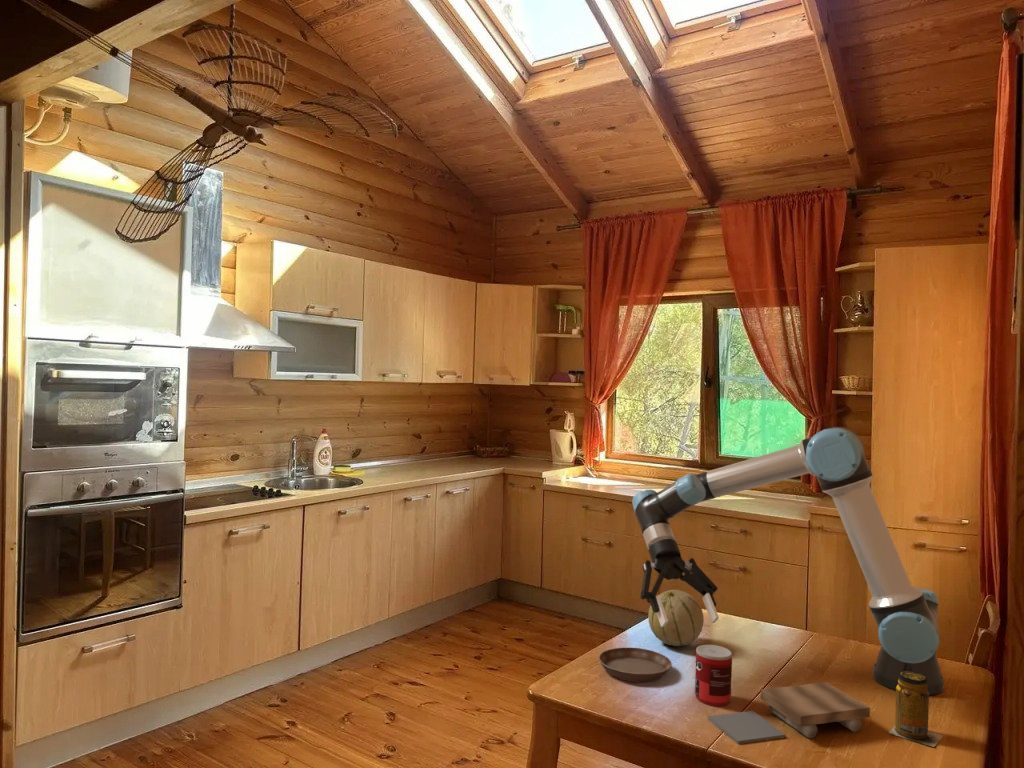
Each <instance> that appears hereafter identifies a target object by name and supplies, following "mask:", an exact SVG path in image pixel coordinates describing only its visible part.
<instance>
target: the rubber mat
mask: <svg viewBox="0 0 1024 768" xmlns="http://www.w3.org/2000/svg"><path fill="white" fill-rule="evenodd" d="M707 720H708V721H710V722H711V723H712V724H713V725H715V726H716V727H717V728H718V729H720V730H721V731H722V732H723V733H724V734H725V735H726V736H728V737H729V738H730V739H731V740H733V742H735V743H736V744H737V745H741V744H747V743H755V741H757V742H762V740H764V741H768V740H767V739H771V740H778V739H785V738H786V734H785V733H784V732H782V731H781V730H780V729H778V728H777V727H775V726H774V725H773V724H771V723H770V722H769V721H768V720H766V719H765V718H763V717H762V716H760V715H759V714H758V713H756V712H755V711H754V710H749V711H741V712H734V713H733V712H731V713H724V714H716V715H715V714H713V715H708V716H707ZM776 738H778V739H776Z"/></svg>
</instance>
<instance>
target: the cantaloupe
mask: <svg viewBox="0 0 1024 768" xmlns="http://www.w3.org/2000/svg"><path fill="white" fill-rule="evenodd" d="M657 596H660V599H661V602H662V605H663V608H664V610H665V613H666V616H667V619H668V622H667V624H666V625H665V626H664V627H661V625H660V622H659V619H658V616H657V613H654V612H653V610H652V607H651V604H650V606H649V609H648V617H647V619H648V624H649V627H650V630H651V631H652V634H653V635H654V636H655V638H656V639H657V640H659V642H660V641H661V642H662V643H664V644H665V645H668V646H673V647H681V646H687V645H689V644H691V643H693V642H694V641H696V640H697V639H698V638H699V636H700V635H701V633H702V631H703V627H704V613H703V610H702V606H701V605H700V603H699V602H698V600H697V599H696V598H695V597H694V596H693V595H692V594H690V593H688V592H686V591H683V590H680V589H671V590H670V589H669V590H667V591H666V590H665V591H663V592H661V593H660V594H658V595H656V597H657Z"/></svg>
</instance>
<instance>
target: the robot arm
mask: <svg viewBox="0 0 1024 768" xmlns="http://www.w3.org/2000/svg"><path fill="white" fill-rule="evenodd" d="M808 474H810V475H812V476H814V477H816V479H817V482H818V483H819V486H820V490H821V491H822V493H825V494H827V495H829V496H830V497H831V499H832V501H833V502H834V503H833V504H834V505H835V508H836V510H837V512H838V515H839V517H840V519H841V522H842V525H843V528H844V530H845V532H846V535H847V538H848V540H849V542H850V544H851V547H852V550H853V552H854V554H855V556H856V560H857V562H858V564H859V566H860V569H861V571H862V574H863V576H864V579H865V581H866V583H867V585H868V588H869V590H870V593H871V599H870V600H869V603H868V606H869V609H870V611H871V615H872V617H873V620H874V622H875V624H876V626H877V634H878V637H877V638H878V640H879V643H880V644H881V647H880V650H879V652H878V654H877V658H876V661H875V663H874V664H873V669H872V677H873V679H874V680H875V681H876V682H877V683H879V684H880V685H882V686H884V687H887V688H889V689H891V690H894V691H896V687H897V685H898V684H899V683H898V680H899V674H900V673H901V672H914V673H918V674H921V675H923V676H924V677H926V678H927V681H928V682H927V687H928V688H927V691H928V692H929V696H934V695H935V696H936V695H939V694H941V693H942V692H944V689H945V681H944V680H945V679H944V677H943V675H942V672H941V668H940V664H939V660H938V657H937V650H938V648H939V645H940V643H941V642H940V634H939V626H938V625H939V622H938V617H939V616H938V613H939V612H938V609H939V608H938V606H939V598H938V597H939V596H938V594H937V593H936V592H935V591H933V590H929V589H926V588H923V587H922V588H921V587H915V586H912V583H911V581H910V579H909V577H908V574H907V571H906V569H905V567H904V565H903V563H902V560H901V558H900V555H899V553H898V550H897V548H896V545H895V543H894V541H893V539H892V538H893V537H891V533H890V532H889V529H888V527H887V525H886V522H885V519H884V517H883V515H882V512H881V510H880V507H879V506H878V503H877V500H876V498H875V496H874V493H873V491H872V489H871V484H870V483H871V482H872V480H873V478H874V475H873V473H872V470H871V468H870V465H869V463H868V461H867V458H866V456H865V445H864V442H863V440H862V439H861V437H860V436H859V435H858V433H856V432H855V431H854V430H852V429H849V428H847V427H844V426H833V427H828V428H826V429H825V428H824V429H822V430H820V431H818V432H816V433H815V434H814V435H813V436H810V437H807V438H804V439H801V441H800V443H799V444H798V445H794V446H790V447H787V448H783V449H780V450H776V451H774V452H770V453H766V454H762V455H760V456H755V457H752V458H749V459H745V460H742V461H739V462H736V463H731V464H728V465H724V466H722V467H717V468H714V469H711V470H708V471H704V472H700V473H695V474H693V473H687V474H686V475H684V476H681V477H679V478H677V480H675V481H673V482H671V484H669V485H667V486H666V487H664V488H663V489H661V490H660V491H656V490H654V489H644V490H643V491H641V490H640V491H639V492H637V493H636V494H635V495H634V496H633V498H632V502H631V503H632V508H633V510H634V516H635V517H636V520H637V523H638V525H639V528H640V530H641V533H642V537H643V538H644V542H645V544H646V545H645V546H646V547H647V549H648V553H649V557H650V559H651V560H646V561H645V562H644V564H643V565H642V570H643V577H642V585H641V589H640V595H639V596H640V599H642V600H646V602H647V603H648V604H650V605H651V607H652V610H653V612H654V613H657V616H658V619H659V622H660V625H661V627H664V626H665V625H666V624H667V622H668V619H667V616H666V613H665V610H664V608H663V605H662V602H661V599H660V596H658V595H657V594H658V592H659V590H660V587H661V585H662V583H663V581H664V579H666V580H667V581H670V580H678V579H679V580H681V581H682V582H685V583H686V584H688V585H689V586H690V587H691V588H692V589H694V590H695V591H696V592H697V593H699V594H701V595H702V596H703V597H702V601H703V605H704V608H705V609H706V612H707V614H708V617H709V619H710V622H711V624H714V623H716V622H717V621H718V620H719V618H720V617H719V614H718V612H717V609H716V606H717V602H716V601H715V600H716V599H715V597H714V595H715V593H716V592H717V591H718V589H719V588H718V587H717V585H716V584H715V583H714V582H713V581H712V580H711V578H709V577H708V575H706V573H705V572H704V571H703V570H702V569H701V568H700V566H698V564H697V563H696V561H695V559H694V558H693V557H692V558H690V559H688V560H684V559H683V558H682V555H681V550H680V548H679V546H678V542H677V541H676V537H675V535H674V533H673V530H672V528H671V524H670V522H669V520H670V519H673V518H674V517H676V516H678V515H679V514H681V513H682V512H684V511H686V510H687V509H690V508H691V507H693V506H695V505H697V504H699V503H704V502H706V501H710V500H714V499H716V498H720V497H724V496H725V497H726V496H728V495H731V494H735V493H739V492H743V491H747V490H750V489H755V488H759V487H763V486H765V485H771V484H774V483H777V482H781V481H784V480H789V479H792V478H797V477H800V476H804V475H808ZM651 561H652V562H651ZM653 570H655V572H657V573H658V575H657V577H656V580H655V581H654V584H653V586H652V589H650V586H651V585H650V584H651V579H652V571H653ZM649 590H650V591H649ZM656 596H657V597H656Z"/></svg>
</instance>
